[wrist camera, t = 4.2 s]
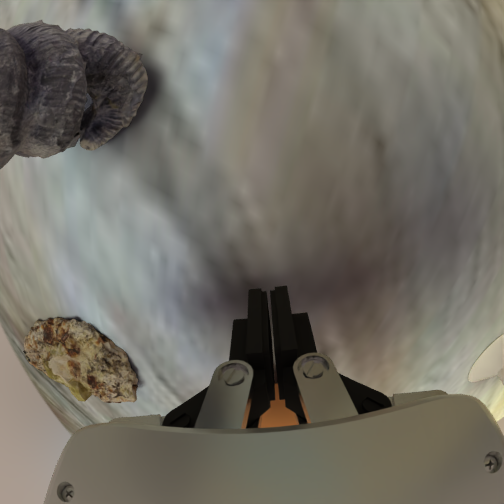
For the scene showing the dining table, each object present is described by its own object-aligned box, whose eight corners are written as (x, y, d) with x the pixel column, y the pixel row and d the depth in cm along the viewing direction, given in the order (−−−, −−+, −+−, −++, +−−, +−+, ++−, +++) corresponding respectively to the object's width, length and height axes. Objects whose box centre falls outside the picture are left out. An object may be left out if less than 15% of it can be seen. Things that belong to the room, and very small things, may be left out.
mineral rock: (120, 347, 13) (132, 440, 14) (147, 318, 17) (149, 405, 18) (2, 302, 13) (23, 390, 14) (36, 287, 17) (49, 368, 18)
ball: (325, 358, 16) (343, 435, 10) (322, 406, 18) (333, 469, 13) (235, 368, 16) (228, 447, 11) (248, 413, 18) (246, 477, 13)
